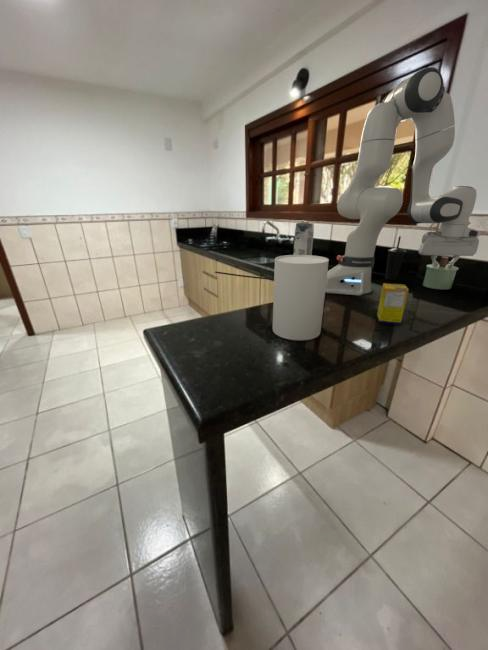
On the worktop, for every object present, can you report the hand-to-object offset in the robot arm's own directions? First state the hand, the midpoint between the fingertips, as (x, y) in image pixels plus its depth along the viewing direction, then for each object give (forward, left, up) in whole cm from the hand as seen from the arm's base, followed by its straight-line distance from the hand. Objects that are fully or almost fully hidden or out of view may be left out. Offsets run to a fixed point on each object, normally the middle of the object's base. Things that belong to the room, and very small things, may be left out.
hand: (442, 266), depth 111 cm
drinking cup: (-14, +14, -9) cm, 22 cm away
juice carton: (-57, +25, -9) cm, 63 cm away
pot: (0, 0, -9) cm, 9 cm away
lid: (0, 0, -1) cm, 1 cm away
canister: (-61, -54, -9) cm, 82 cm away
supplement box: (-33, -43, -9) cm, 55 cm away
